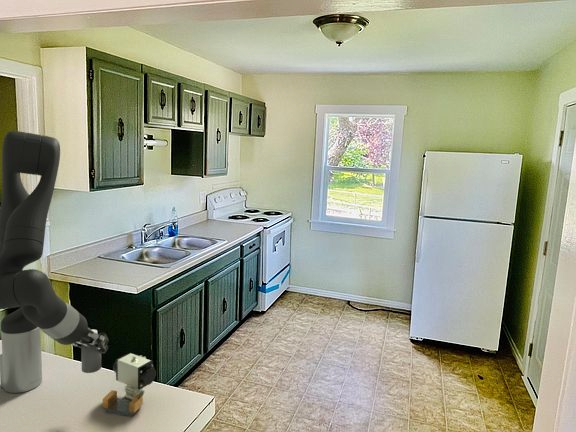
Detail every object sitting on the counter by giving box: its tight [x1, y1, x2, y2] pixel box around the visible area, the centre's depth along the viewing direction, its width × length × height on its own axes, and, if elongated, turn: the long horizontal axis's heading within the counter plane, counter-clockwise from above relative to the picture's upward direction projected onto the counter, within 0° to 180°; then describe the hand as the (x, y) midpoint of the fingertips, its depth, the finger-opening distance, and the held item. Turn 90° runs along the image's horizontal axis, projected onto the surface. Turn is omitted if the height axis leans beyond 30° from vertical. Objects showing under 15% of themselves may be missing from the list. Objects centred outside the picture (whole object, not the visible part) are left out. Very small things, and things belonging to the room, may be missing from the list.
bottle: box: [80, 329, 102, 374], centre depth 106 cm, size 5×5×10 cm
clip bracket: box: [102, 390, 144, 418], centre depth 109 cm, size 9×5×4 cm, turn 80°
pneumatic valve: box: [112, 352, 157, 401], centre depth 114 cm, size 6×12×12 cm, turn 63°
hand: (96, 348), depth 108 cm, fingers closed on bottle, 4 cm apart
